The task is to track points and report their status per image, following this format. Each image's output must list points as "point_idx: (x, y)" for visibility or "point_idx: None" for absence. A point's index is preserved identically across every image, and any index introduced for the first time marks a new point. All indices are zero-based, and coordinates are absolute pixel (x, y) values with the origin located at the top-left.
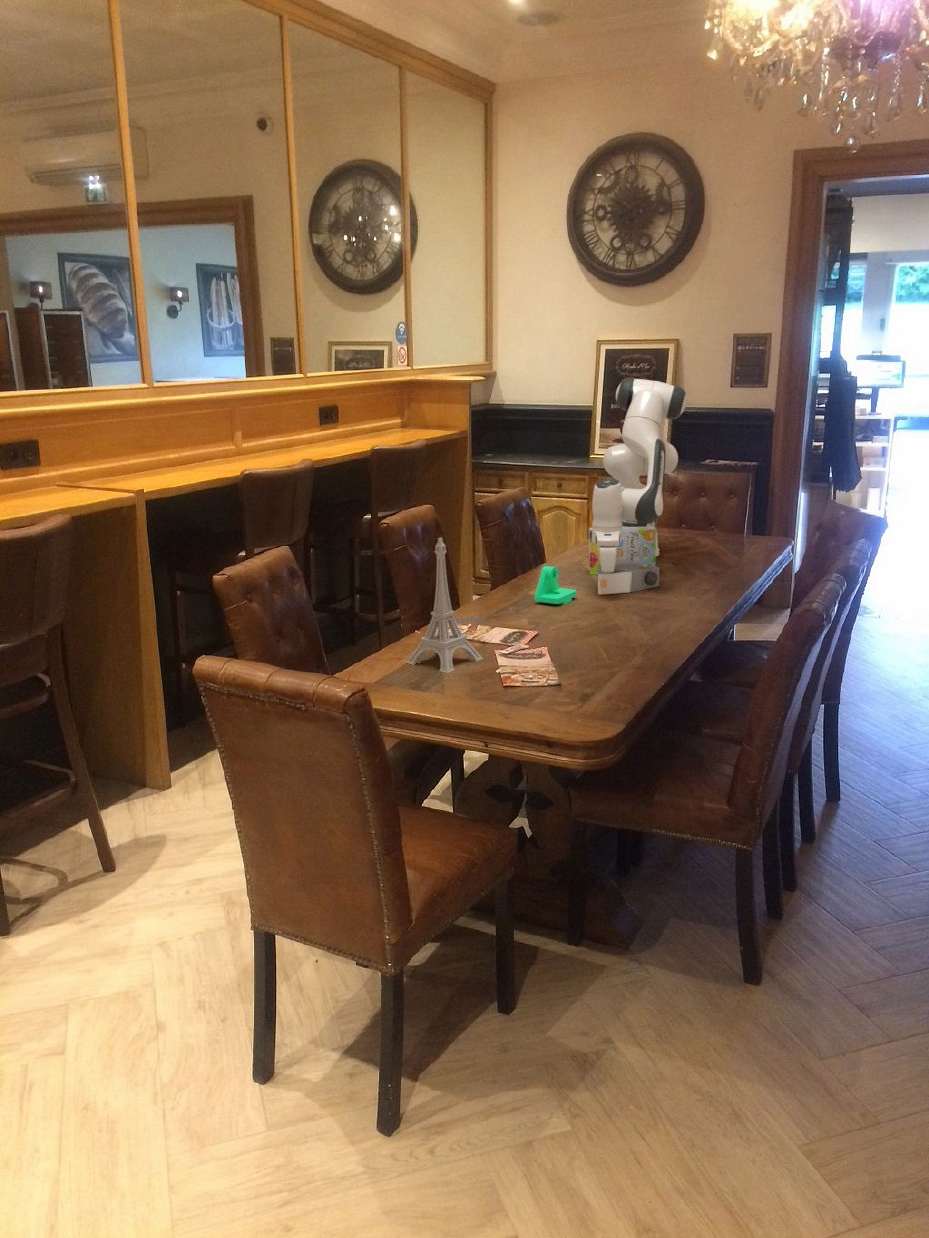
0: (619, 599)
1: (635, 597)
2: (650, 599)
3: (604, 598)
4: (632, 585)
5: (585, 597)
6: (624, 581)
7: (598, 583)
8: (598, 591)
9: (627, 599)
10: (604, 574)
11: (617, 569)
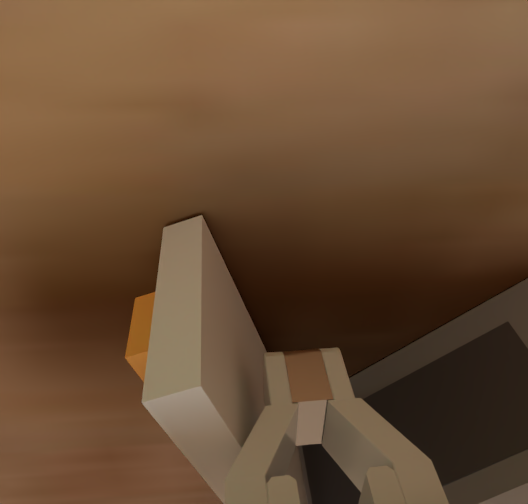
0: (43, 363)
1: (132, 433)
2: (95, 487)
3: (46, 268)
4: (300, 455)
5: (36, 83)
6: None
7: (188, 292)
8: (186, 234)
9: (59, 402)
10: (184, 443)
11: (503, 484)
